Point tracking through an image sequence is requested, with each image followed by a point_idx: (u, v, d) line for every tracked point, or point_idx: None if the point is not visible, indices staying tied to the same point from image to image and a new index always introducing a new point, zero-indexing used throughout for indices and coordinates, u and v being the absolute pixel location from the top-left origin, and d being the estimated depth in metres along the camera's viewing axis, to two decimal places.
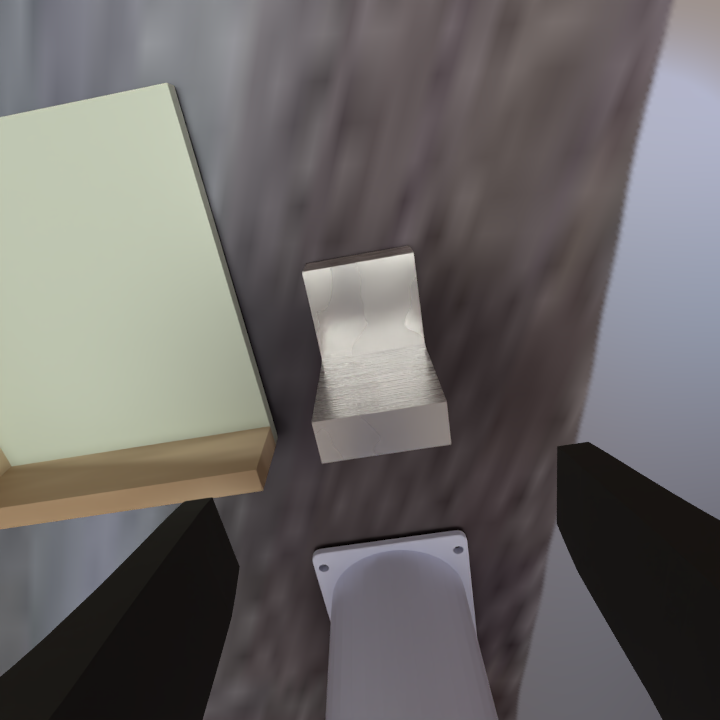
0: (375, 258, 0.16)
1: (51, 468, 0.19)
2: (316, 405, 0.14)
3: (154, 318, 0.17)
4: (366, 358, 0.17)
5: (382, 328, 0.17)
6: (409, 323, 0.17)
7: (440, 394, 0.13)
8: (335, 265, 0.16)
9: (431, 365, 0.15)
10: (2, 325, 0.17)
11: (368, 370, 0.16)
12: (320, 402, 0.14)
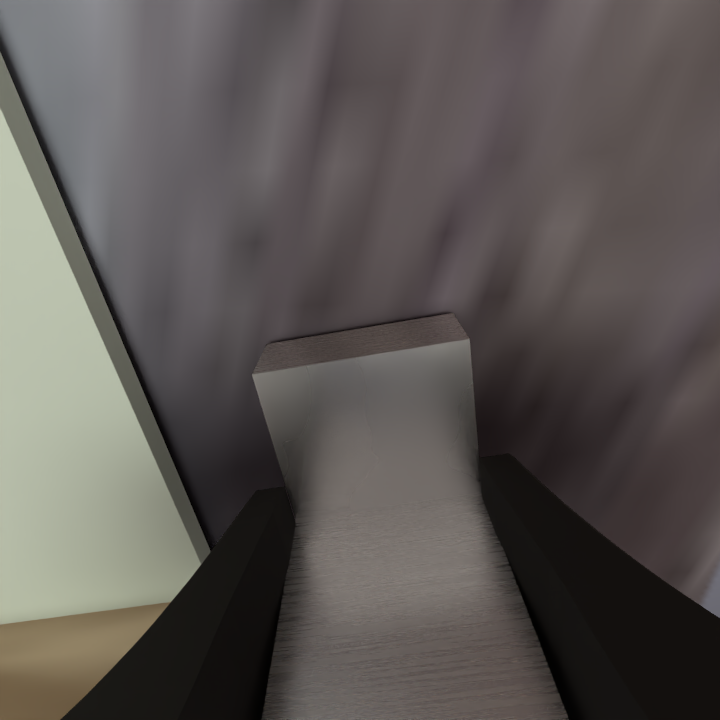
0: (394, 348, 0.08)
1: None
2: (269, 697, 0.06)
3: None
4: (374, 522, 0.09)
5: (405, 467, 0.09)
6: (455, 460, 0.09)
7: (556, 708, 0.06)
8: (316, 360, 0.08)
9: (508, 571, 0.08)
10: None
11: (380, 568, 0.08)
12: (279, 686, 0.06)
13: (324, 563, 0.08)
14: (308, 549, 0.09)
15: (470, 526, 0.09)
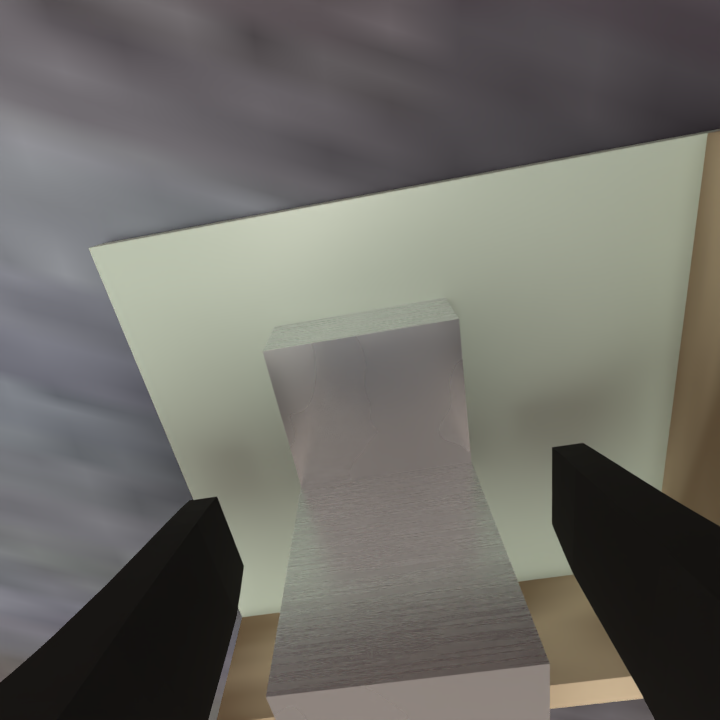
0: (391, 327, 0.09)
1: None
2: (281, 629, 0.07)
3: None
4: (373, 488, 0.10)
5: (402, 438, 0.10)
6: (447, 431, 0.10)
7: (530, 631, 0.07)
8: (321, 338, 0.09)
9: (493, 525, 0.08)
10: None
11: (379, 525, 0.09)
12: (289, 620, 0.07)
13: (328, 522, 0.09)
14: (313, 511, 0.10)
15: (460, 490, 0.09)
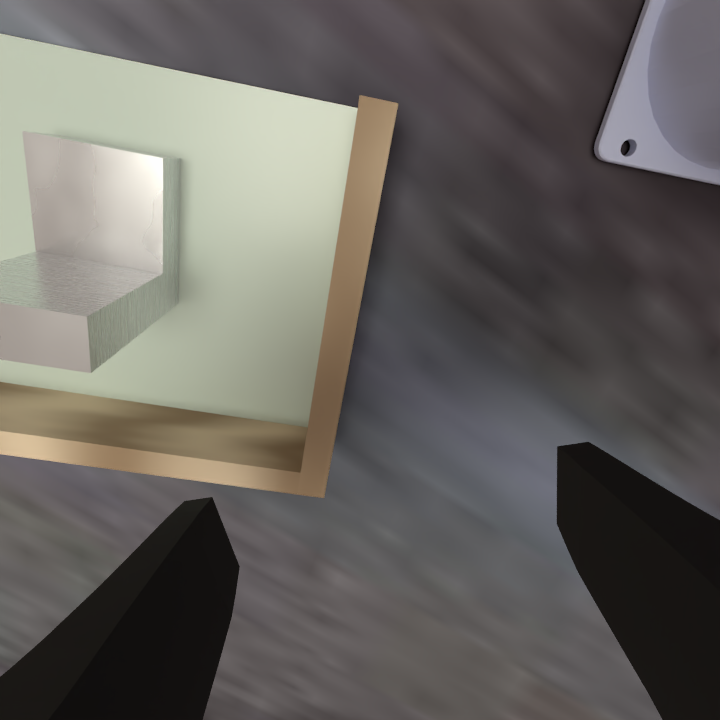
0: (119, 149, 0.13)
1: None
2: None
3: None
4: (83, 263, 0.14)
5: (115, 237, 0.14)
6: (147, 242, 0.14)
7: (93, 309, 0.11)
8: (68, 139, 0.13)
9: (133, 288, 0.13)
10: (155, 340, 0.17)
11: (63, 272, 0.13)
12: None
13: (32, 263, 0.13)
14: (29, 258, 0.13)
15: (136, 277, 0.14)
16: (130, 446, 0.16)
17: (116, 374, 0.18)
